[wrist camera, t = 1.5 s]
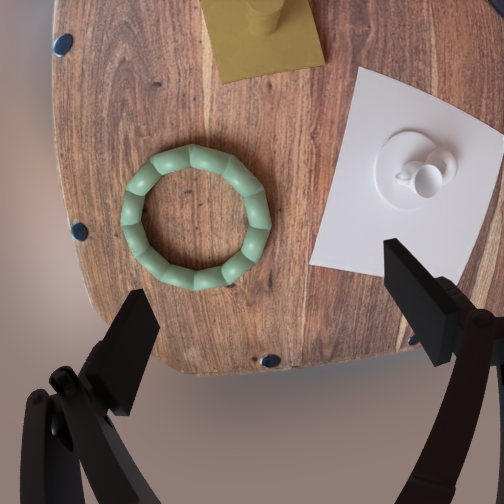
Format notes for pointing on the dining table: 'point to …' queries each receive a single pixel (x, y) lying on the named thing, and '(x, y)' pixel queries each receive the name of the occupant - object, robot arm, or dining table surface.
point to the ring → (212, 163)
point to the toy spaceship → (498, 6)
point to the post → (261, 37)
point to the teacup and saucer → (407, 181)
